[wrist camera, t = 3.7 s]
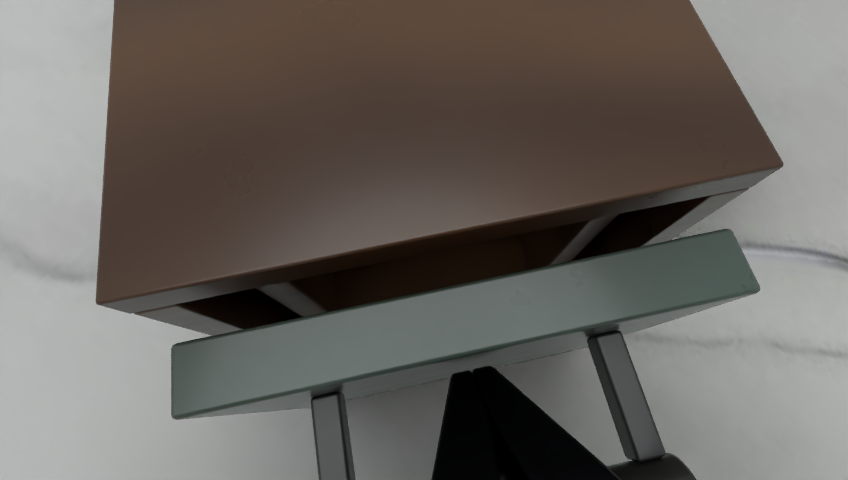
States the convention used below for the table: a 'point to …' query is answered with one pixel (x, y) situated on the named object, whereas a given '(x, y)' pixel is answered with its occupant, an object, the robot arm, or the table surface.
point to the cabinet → (398, 138)
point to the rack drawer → (463, 330)
